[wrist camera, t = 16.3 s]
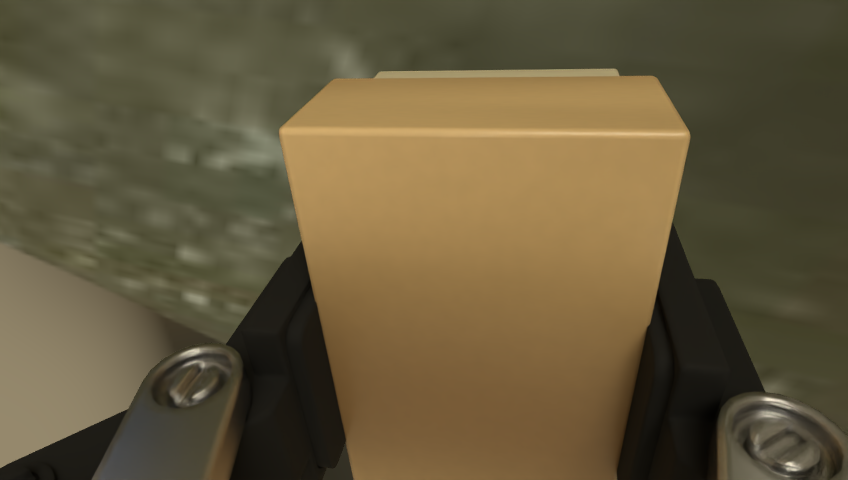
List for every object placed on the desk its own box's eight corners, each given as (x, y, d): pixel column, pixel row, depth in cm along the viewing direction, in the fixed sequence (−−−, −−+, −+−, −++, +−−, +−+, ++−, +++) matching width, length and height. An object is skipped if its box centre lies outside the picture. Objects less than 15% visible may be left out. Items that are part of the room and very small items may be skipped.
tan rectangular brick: (358, 52, 9) (274, 128, 6) (641, 47, 8) (694, 132, 5) (400, 389, 13) (361, 525, 10) (587, 408, 12) (600, 561, 10)
